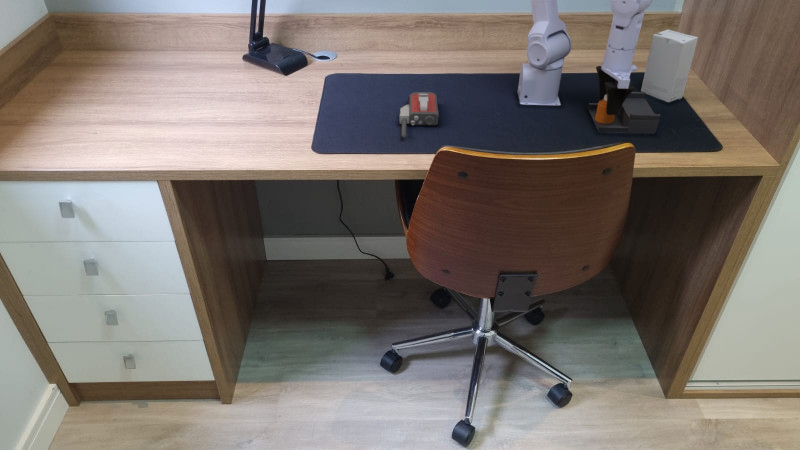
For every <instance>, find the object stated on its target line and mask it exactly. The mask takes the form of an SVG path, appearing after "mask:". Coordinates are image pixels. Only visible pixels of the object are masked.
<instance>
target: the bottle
mask: <svg viewBox="0 0 800 450" xmlns="http://www.w3.org/2000/svg"><path fill="white" fill-rule="evenodd" d="M597 103H598V107H597V111H596V116H595V120H596V121H597V122H600V123H604V124H610V123H613V122H614V119H615V115H607V113H606V105H607V94H606V95H605V96H604V99H603V100H599V101H598V102H597Z"/></svg>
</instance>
